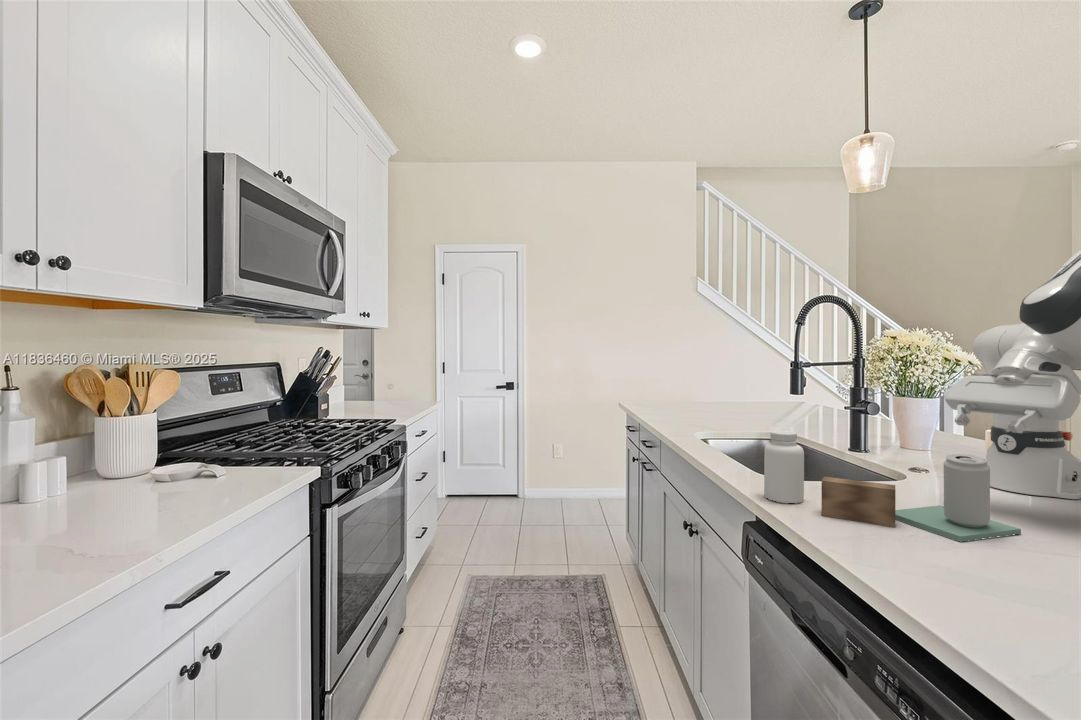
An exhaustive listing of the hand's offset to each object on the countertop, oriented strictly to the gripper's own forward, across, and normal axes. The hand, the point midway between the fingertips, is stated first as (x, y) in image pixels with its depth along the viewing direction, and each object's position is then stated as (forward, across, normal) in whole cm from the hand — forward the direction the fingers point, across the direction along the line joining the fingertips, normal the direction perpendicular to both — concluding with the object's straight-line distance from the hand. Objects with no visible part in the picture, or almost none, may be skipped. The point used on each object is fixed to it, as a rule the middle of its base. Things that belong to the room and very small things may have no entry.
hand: (985, 426), depth 96 cm
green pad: (+20, +1, +5) cm, 21 cm away
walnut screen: (+30, -6, -4) cm, 31 cm away
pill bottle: (+33, -21, -8) cm, 40 cm away
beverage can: (+19, +4, +5) cm, 20 cm away
